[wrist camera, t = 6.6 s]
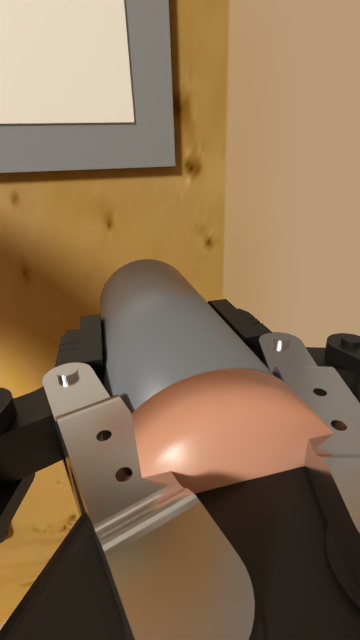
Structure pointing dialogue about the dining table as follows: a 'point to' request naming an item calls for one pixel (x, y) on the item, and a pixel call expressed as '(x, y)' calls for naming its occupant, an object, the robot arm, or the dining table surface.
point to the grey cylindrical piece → (195, 385)
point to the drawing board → (85, 85)
